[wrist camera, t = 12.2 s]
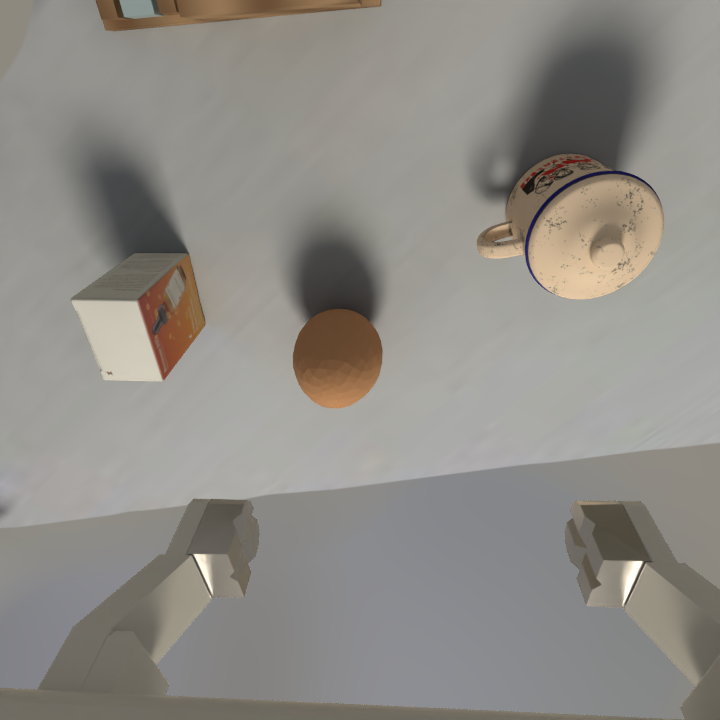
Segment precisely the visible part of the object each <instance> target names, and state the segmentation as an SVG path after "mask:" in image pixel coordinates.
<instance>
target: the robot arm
mask: <svg viewBox="0 0 720 720" xmlns="http://www.w3.org/2000/svg"><path fill="white" fill-rule="evenodd" d="M253 509H254V508H253V505H252V502H251V501H250V500H226V499H193V500H192V501H191V502H190V503H189V504H188V506H187V509H186V511H185V513H184V515H183V517H182V519H181V521H180V524H179V526H178V528H177V530H176V532H175V534H174V536H173V539H172V541H171V543H170V545H169V547H168V550H167V551H166V554H161V555H158V556H157V557H156V558H155V559H154V560H152V561H151V562H150V563H149V564H148V565H147V566H145V567H144V568H143V569H142V570H141V571H140V572H138V573H137V574H136V575H135V576H133V577H132V578H131V579H130V580H129V581H128V582H126V583H125V584H124V585H123V586H121V587H120V588H119V589H118V590H117V591H116V592H114V593H113V594H112V595H111V596H110V597H108V598H107V599H106V600H105V601H104V602H102V603H101V604H100V605H99V606H98V607H97V608H95V609H94V610H93V611H92V612H90V613H89V614H88V615H87V616H86V617H85V618H83V619H82V620H81V621H80V622H79V623H77V624H76V625H75V626H74V627H73V628H72V630H71V632H70V633H69V635H68V637H67V639H66V640H65V642H64V644H63V646H62V647H61V649H60V651H59V653H58V654H57V656H56V658H55V660H54V661H53V663H52V665H51V667H50V668H49V670H48V672H47V674H46V675H45V677H44V679H43V681H42V682H41V684H40V686H39V688H38V689H37V690H35V689H13V688H0V720H681V719H661V718H639V717H617V716H596V715H575V714H554V713H552V714H551V713H532V712H531V713H530V712H511V711H510V712H509V711H488V710H467V709H446V708H425V707H403V706H402V707H401V706H382V705H361V704H339V703H318V702H317V703H316V702H296V701H273V700H252V699H229V698H209V697H187V696H166V693H167V690H168V687H169V685H168V682H167V680H166V678H165V677H164V675H163V674H162V672H161V671H160V669H159V668H158V666H157V665H156V664H157V663H158V662H159V661H160V659H161V658H162V657H163V656H164V655H165V654H166V653H167V651H168V650H169V649H170V648H171V647H172V646H173V644H174V643H175V642H176V641H177V640H178V638H179V637H180V636H181V635H182V634H183V633H184V631H185V630H186V629H187V628H188V627H189V626H190V624H191V623H192V622H193V621H194V620H195V619H196V617H197V616H198V615H199V614H200V613H201V611H202V610H203V609H204V608H205V607H206V605H208V603H209V602H210V601H211V600H212V599H211V598H215V597H244V596H245V592H246V589H247V585H248V582H249V578H250V575H251V571H250V567H249V564H248V563H249V562H250V561H251V560H252V559H253V558H254V557H255V556H256V553H257V549H258V545H259V535H260V533H259V525H258V521H257V519H256V518H254V517H253V516H252V513H253ZM570 512H571V514H572V517H573V518H572V519H571V520H570V521H568V522H567V524H566V528H565V544H566V549H567V553H568V556H569V559H570V561H571V562H572V563H573V564H574V565H575V566H576V567H577V568H578V569H579V573H578V576H577V582H578V584H579V587H580V590H581V593H582V596H583V598H584V601H585V604H586V606H596V607H615V608H625V609H624V610H625V611H626V613H627V614H628V615H629V616H630V617H631V618H632V619H633V620H634V621H635V622H636V623H637V624H638V625H639V626H640V628H641V629H642V630H643V631H644V632H645V633H646V634H647V635H648V636H649V637H650V638H651V639H652V640H653V641H654V642H655V644H656V645H657V646H658V647H659V648H660V649H661V650H662V651H663V652H664V653H665V654H666V655H667V656H668V657H669V658H670V660H671V661H672V662H673V663H674V664H675V665H676V666H677V667H678V668H679V669H680V670H681V671H682V672H683V673H684V674H685V676H686V677H688V679H689V680H690V681H691V682H692V683H693V684H694V685H695V688H694V689H693V690H692V692H691V693H690V695H689V696H688V697H687V698H686V700H685V701H684V703H683V704H682V706H681V711H682V713H683V715H684V718H685V720H720V589H718V588H717V587H716V586H714V585H713V584H712V583H710V582H709V581H708V580H706V579H705V578H704V577H703V576H701V575H700V574H699V573H697V572H696V571H695V570H693V569H692V568H691V567H689V566H688V565H687V564H685V563H678V562H677V560H676V558H675V557H674V555H673V553H672V551H671V550H670V548H669V546H668V544H667V543H666V541H665V539H664V537H663V536H662V534H661V532H660V530H659V529H658V527H657V525H656V524H655V522H654V520H653V518H652V517H651V515H650V513H649V511H648V509H647V508H646V506H645V505H644V504H643V503H642V502H641V501H575V502H574V503H573V504H572V506H571V510H570Z"/></svg>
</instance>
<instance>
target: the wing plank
mask: <svg viewBox="0 0 720 720" xmlns="http://www.w3.org/2000/svg"><path fill="white" fill-rule="evenodd" d="M119 1H120V4H121V8H122V11H123V15H124V17H126V18H133V19H137V18H148V17H158V16H164V14H160V13H159V9H158V5H157V1H156V0H119Z"/></svg>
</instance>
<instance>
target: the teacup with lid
mask: <svg viewBox="0 0 720 720" xmlns="http://www.w3.org/2000/svg"><path fill="white" fill-rule="evenodd" d="M663 229H664V214H663V209H662V205H661V202H660V200H659V198H658V196H657V194H656V192H655V191H654V190H653V188H652V187H651V186H650V185H649V184H648V183H647V182H645V181H644V180H642V179H641V178H639V177H637V176H635V175H632V174H630V173H626V172H622V171H616V170H614V169H612V168H610V167H608V166H606V165H604V164H602V163H600V162H598V161H596V160H594V159H592V158H590V157H587V156H585V155H580V154H560V155H556V156H552V157H550V158H547V159H545V160H543V161H541V162H539V163H538V164H536V165H535V166H533V167H532V168H531V169H529V170H528V171H527V172H526V173H525V174H524V175H523V176H522V177H521V179H520V180H519V181H518V182H517V184H516V185H515V187H514V189H513V191H512V193H511V195H510V198H509V200H508V204H507V209H506V222H504V223H501V224H497V225H495V226H492V227H490V228H488V229H486V230H485V231H483V232H482V233H481V234H480V235H479V237H478V239H477V247H478V251H479V253H480V254H481V255H482V256H484V257H488V258H507V257H512V256H517V255H521V254H523V256H524V258H525V259H526V263H527V266H528V269H529V271H530V273H531V275H532V276H533V278H534V279H535V280H536V282H537V283H538V284H539V285H540V286H541V287H543V288H544V289H545V290H547V291H549V292H551V293H553V294H555V295H558V296H561V297H565V298H570V299H589V298H595V297H600V296H603V295H606V294H609V293H611V292H614V291H616V290H618V289H620V288H621V287H623V286H625V285H626V284H628V283H629V282H631V281H632V280H633V279H634V278H636V277H637V276H638V275H639V274H640V273H641V272H642V271H643V270H644V269H645V268H646V266H647V265H648V264H649V263H650V261H651V260H652V258H653V257H654V255H655V253H656V251H657V249H658V247H659V244H660V242H661V238H662V235H663ZM510 236H511V237H512V239H513V240H509V241H504V242H494V241H497V240H499V239H503V238H506V237H510Z"/></svg>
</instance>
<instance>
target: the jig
mask: <svg viewBox="0 0 720 720" xmlns="http://www.w3.org/2000/svg"><path fill="white" fill-rule="evenodd" d="M156 1H157V5H158V9H159V13H160V14H164V16H158V17H148V18H137V19H133V18H126V17H124V15H123V11H122V8H121V4H120V1H119V0H96V3H97V6H98V9H99V13H100V16H101V19H102V20H103V24H104V27H105V30H107V31H121V30H132V29H143V28H153V27H164V26H175V25H185V24H196V23H207V22H217V21H228V20H239V19H249V18H260V17H271V16H281V15H292V14H303V13H313V12H324V11H335V10H345V9H356V8H367V7H377V6H381V0H156Z"/></svg>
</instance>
